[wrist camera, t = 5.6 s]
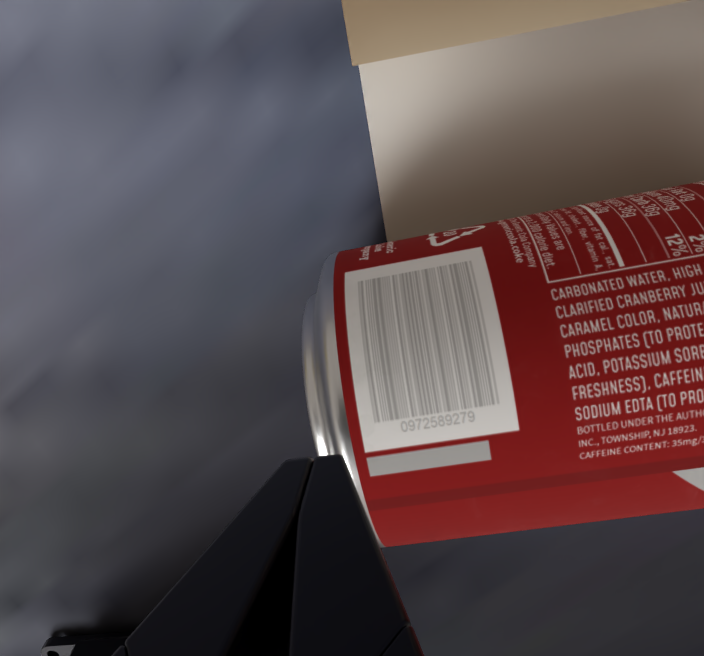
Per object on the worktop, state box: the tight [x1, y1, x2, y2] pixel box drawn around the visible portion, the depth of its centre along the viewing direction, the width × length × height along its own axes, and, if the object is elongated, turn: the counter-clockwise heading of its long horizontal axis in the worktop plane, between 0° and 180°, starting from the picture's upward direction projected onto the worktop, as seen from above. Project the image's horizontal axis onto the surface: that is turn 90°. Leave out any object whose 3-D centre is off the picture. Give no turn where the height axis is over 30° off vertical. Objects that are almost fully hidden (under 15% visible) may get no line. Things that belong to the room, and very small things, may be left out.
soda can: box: [302, 181, 704, 548], centre depth 13 cm, size 7×7×12 cm
